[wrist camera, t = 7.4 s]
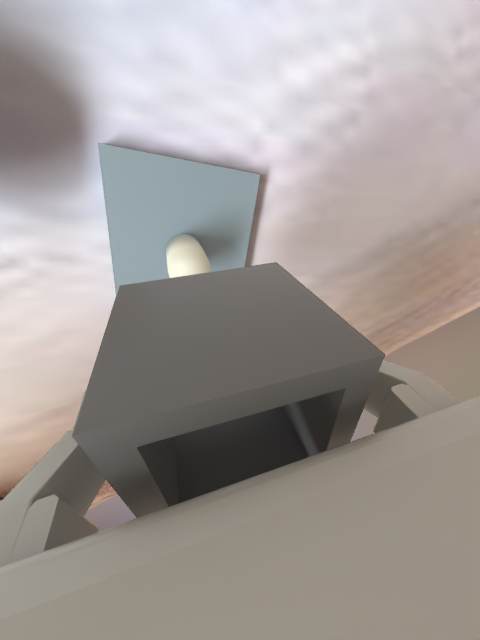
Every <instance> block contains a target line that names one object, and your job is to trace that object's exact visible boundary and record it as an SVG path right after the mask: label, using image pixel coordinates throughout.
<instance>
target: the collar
mask: <svg viewBox="0 0 480 640" xmlns="http://www.w3.org/2000/svg"><path fill="white" fill-rule="evenodd" d="M384 357H385V354H384V353H383V352H382V351H380V350H379V349H378V348H377V347H376V346H375V345H373V344H372V343H371V342H370V341H369V340H367V339H366V338H365V337H364V336H363V335H362V334H360V333H359V332H358V331H357V330H356V329H354V328H353V327H352V326H351V325H350V324H349V323H347V322H346V321H345V320H344V319H343V318H342V317H340V316H339V315H338V314H337V313H336V312H334V311H333V310H332V309H331V308H330V307H329V306H327V305H326V304H325V303H324V302H323V301H321V300H320V299H319V298H318V297H317V296H316V295H314V294H313V293H312V292H311V291H310V290H308V289H307V288H306V287H305V286H304V285H303V284H301V283H300V282H299V281H298V280H297V279H295V278H294V277H293V276H292V275H291V274H290V273H288V272H287V271H286V270H285V269H284V268H283V267H281V266H280V265H279V264H278V263H277V262H275V263H268V264H262V265H255V266H248V267H241V268H235V269H228V270H221V271H215V272H208V273H201V274H194V275H188V276H181V277H174V278H167V279H161V280H154V281H147V282H141V283H134V284H127V285H120V286H119V289H118V292H117V296H116V299H115V302H114V305H113V308H112V311H111V314H110V318H109V321H108V324H107V327H106V330H105V333H104V336H103V340H102V343H101V346H100V349H99V352H98V355H97V359H96V362H95V365H94V368H93V371H92V374H91V377H90V381H89V384H88V387H87V390H86V393H85V396H84V399H83V403H82V406H81V409H80V412H79V415H78V418H77V421H76V425H75V428H74V431H73V434H72V437H73V438H74V439H75V441H76V442H77V443H78V444H79V446H80V447H81V448H82V449H83V451H84V452H85V453H86V454H87V456H88V457H89V458H90V460H91V461H92V462H93V463H94V465H95V466H96V467H97V468H98V470H99V471H100V472H101V473H102V475H103V476H104V477H105V478H106V480H107V481H108V482H109V483H110V485H111V486H112V487H113V488H114V490H115V491H116V492H117V493H118V495H119V496H120V497H121V499H122V500H123V501H124V502H125V504H126V505H127V506H128V507H129V509H130V510H131V511H132V512H133V514H134V515H135V516H136V517H137V518H139V517H142V516H145V515H148V514H150V513H153V512H156V511H159V510H162V509H164V508H167V507H170V506H173V505H176V504H178V503H181V502H184V501H187V500H190V499H192V498H195V497H198V496H201V495H204V494H206V493H209V492H212V491H215V490H218V489H220V488H223V487H226V486H229V485H232V484H234V483H237V482H240V481H243V480H246V479H248V478H251V477H254V476H257V475H260V474H262V473H265V472H268V471H271V470H274V469H276V468H279V467H282V466H285V465H288V464H290V463H293V462H296V461H299V460H302V459H304V458H307V457H310V456H313V455H316V454H319V453H321V452H324V451H327V450H330V449H333V448H335V447H338V446H341V445H344V444H347V443H349V442H350V441H351V438H352V436H353V433H354V430H355V428H356V426H357V423H358V421H359V418H360V416H361V413H362V411H363V409H364V406H365V404H366V401H367V399H368V396H369V394H370V391H371V389H372V386H373V384H374V381H375V379H376V376H377V374H378V371H379V369H380V366H381V364H382V361H383V359H384Z"/></svg>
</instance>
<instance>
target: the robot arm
mask: <svg viewBox="0 0 480 640" xmlns="http://www.w3.org/2000/svg"><path fill="white" fill-rule="evenodd" d="M85 393H86V391H85ZM85 393H84V396H85ZM83 399H84V397H83ZM82 403H83V400H82ZM82 403H81V406H82ZM81 406H80V409H81ZM80 409H79V412H80ZM364 409H365V410H366V411H368V412H370V413H372V414H373V415H375V416H376V417H378V420H377V422H376V424H375V427H374V432H375V434H372V435H369V436H367V437H364V438H361V439H358V440H355V441H353V442H349V443H347V444H344V445H341V446H338V447H335V448H333V449H330V450H327V451H324V452H321V453H319V454H316V455H313V456H310V457H307V458H304V459H302V460H299V461H296V462H293V463H290V464H288V465H285V466H282V467H279V468H276V469H274V470H271V471H268V472H265V473H262V474H260V475H257V476H254V477H251V478H248V479H246V480H243V481H240V482H237V483H234V484H232V485H229V486H226V487H223V488H220V489H218V490H215V491H212V492H209V493H206V494H204V495H201V496H198V497H195V498H192V499H190V500H187V501H184V502H181V503H178V504H176V505H173V506H170V507H167V508H164V509H162V510H159V511H156V512H153V513H150V514H148V515H145V516H142V517H139V518H136V519H134V520H131V521H128V522H125V523H122V524H120V525H117V526H114V527H111V528H108V529H106V530H103V531H100V532H98V528H97V527H96V526H95V525H94V524H93V523H91V522H90V521H89V520H87V519H86V518H85V517H84V515H85V514H86V512H87V510H88V508H89V507H90V505H91V503H92V502H93V500H94V498H95V496H96V495H97V493H98V491H99V490H100V488H101V486H102V485H103V483H104V481H105V479H106V478H105V477H104V476H103V475H102V473H101V472H100V471H99V470H98V468H97V467H96V466H95V465H94V463H93V462H92V461H91V460H90V458H89V457H88V456H87V454H86V453H85V452H84V451H83V449H82V448H81V447H80V446H79V444H78V443H77V442H76V441H75V439H74V438H73V437H72V434H73V431H74V428H75V425H76V421H77V418H78V415H79V412H78V415H77V418H76V421H75V424H74V427H73V430H71V431H68V432H67V433H66V434H65V435H64V436H63V437H62V438H61V439H60V440H59V441H58V442H57V443H56V444H55V445H54V446H53V447H52V448H51V449H50V451H49V452H48V453H47V454H46V455H45V456H44V457H43V458H42V459H41V460H40V461H39V462H38V463H37V464H36V465H35V466H34V467H33V468H32V469H31V470H30V472H29V473H28V474H27V475H26V476H25V477H24V478H23V479H22V480H21V481H20V482H19V483H18V484H17V485H16V486H15V487H14V488H13V489H12V490H11V492H10V493H9V494H8V495H7V496H6V497H5V498H4V499H3V500H0V640H480V396H478V397H476V398H473V399H470V400H467V401H465V402H460V401H459V400H458V399H456V398H455V397H454V396H453V395H451V394H450V393H449V392H448V391H446V390H445V389H444V388H443V387H441V386H440V385H439V384H438V383H436V382H435V381H434V380H433V379H431V378H430V377H429V376H427V375H426V374H423V373H420V372H417V371H415V370H412V369H409V368H406V367H403V366H401V365H398V364H395V363H392V362H389V361H386V360H384V359H383V361H382V364H381V366H380V369H379V371H378V374H377V376H376V379H375V381H374V384H373V386H372V389H371V391H370V394H369V396H368V399H367V401H366V404H365V406H364Z"/></svg>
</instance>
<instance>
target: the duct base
mask: <svg viewBox="0 0 480 640" xmlns="http://www.w3.org/2000/svg"><path fill="white" fill-rule="evenodd" d="M98 147H99V155H100V164H101V172H102V181H103V189H104V197H105V206H106V214H107V222H108V231H109V239H110V248H111V256H112V264H113V273H114V281H115V290H116V296H117V292H118V289H119V286H120V285H127V284H134V283H141V282H147V281H154V280H161V279H167V278H174V277H181V276H188V275H194V274H201V273H208V272H215V271H221V270H228V269H235V268H241V267H245V262H246V256H247V250H248V244H249V239H250V233H251V227H252V221H253V215H254V210H255V204H256V198H257V192H258V186H259V181H260V174H255V173H250V172H245V171H240V170H235V169H230V168H224V167H219V166H214V165H209V164H204V163H199V162H194V161H188V160H183V159H178V158H173V157H168V156H163V155H158V154H152V153H147V152H142V151H137V150H132V149H127V148H122V147H116V146H111V145H106V144H101V143H98Z"/></svg>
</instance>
